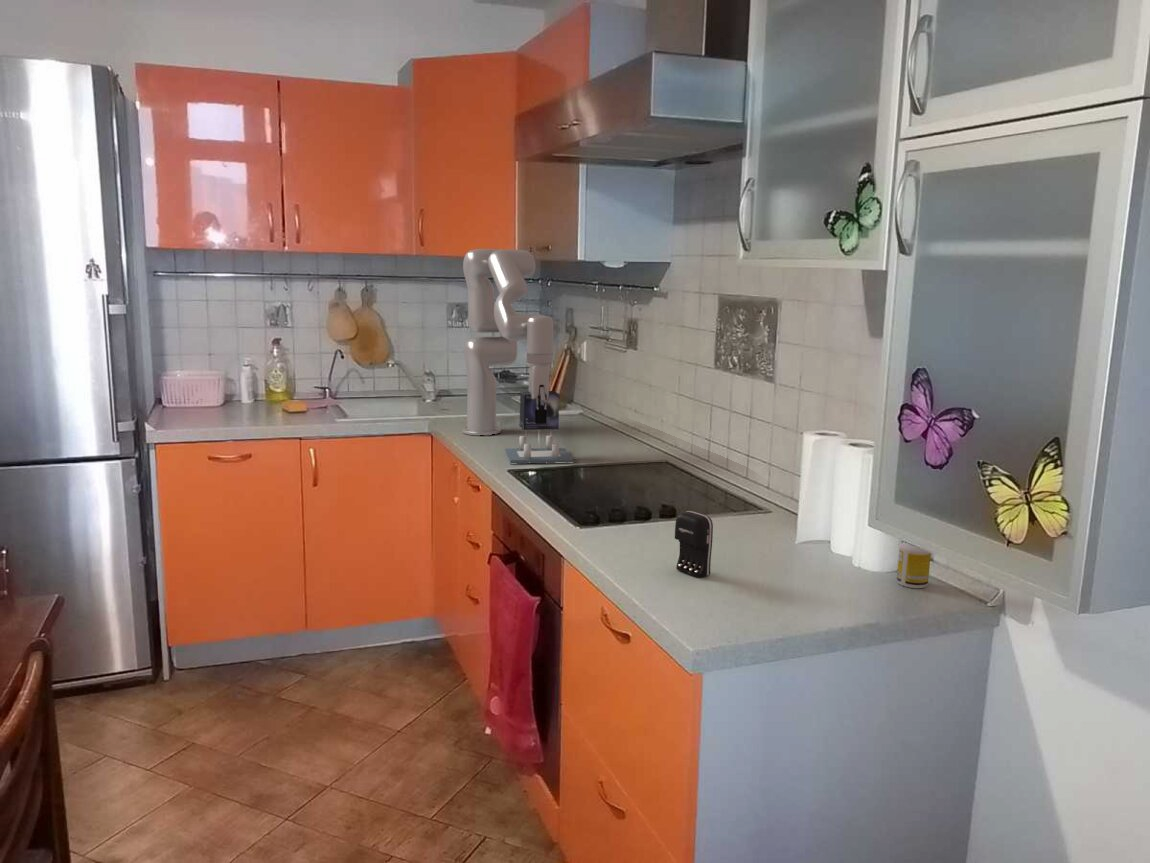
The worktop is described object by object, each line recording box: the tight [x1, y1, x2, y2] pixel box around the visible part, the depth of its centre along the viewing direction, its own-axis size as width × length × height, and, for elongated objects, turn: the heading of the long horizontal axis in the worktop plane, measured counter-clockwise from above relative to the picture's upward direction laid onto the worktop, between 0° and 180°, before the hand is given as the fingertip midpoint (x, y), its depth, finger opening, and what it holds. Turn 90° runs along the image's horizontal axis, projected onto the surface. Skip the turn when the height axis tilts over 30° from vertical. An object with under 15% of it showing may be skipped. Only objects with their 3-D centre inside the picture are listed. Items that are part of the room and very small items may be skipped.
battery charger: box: [674, 510, 714, 578], centre depth 168 cm, size 7×4×11 cm, turn 40°
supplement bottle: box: [896, 541, 932, 590], centre depth 165 cm, size 5×5×10 cm
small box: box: [518, 390, 560, 431], centre depth 262 cm, size 11×6×10 cm, turn 105°
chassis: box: [504, 435, 574, 464], centre depth 264 cm, size 16×18×5 cm
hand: (539, 420), depth 262 cm, fingers closed on small box, 6 cm apart
